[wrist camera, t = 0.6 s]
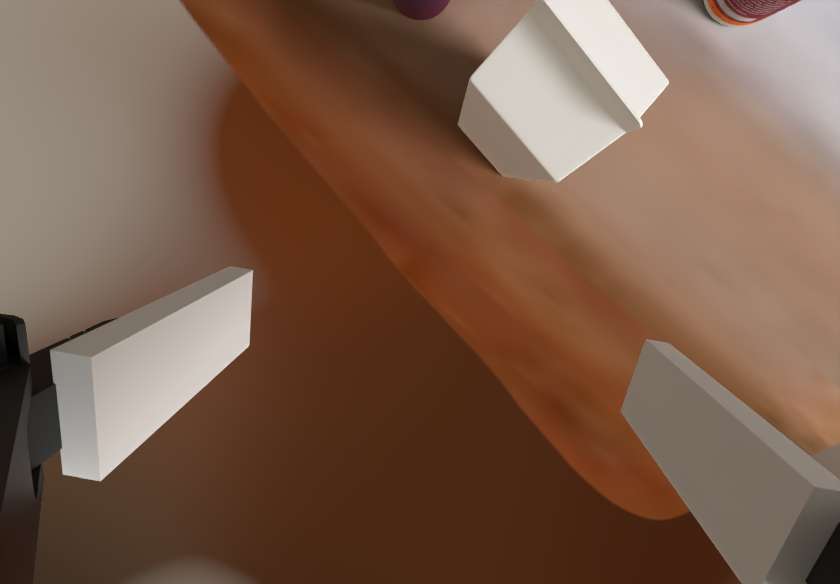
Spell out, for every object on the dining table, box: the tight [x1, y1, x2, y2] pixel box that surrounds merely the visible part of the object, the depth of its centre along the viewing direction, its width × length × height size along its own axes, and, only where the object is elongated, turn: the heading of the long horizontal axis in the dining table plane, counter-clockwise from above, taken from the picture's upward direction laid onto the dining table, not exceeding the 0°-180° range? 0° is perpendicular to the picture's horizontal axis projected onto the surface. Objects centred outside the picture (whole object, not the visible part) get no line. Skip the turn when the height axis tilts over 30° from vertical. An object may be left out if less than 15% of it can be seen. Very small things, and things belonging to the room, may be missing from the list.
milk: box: [458, 0, 669, 182], centre depth 25 cm, size 6×6×22 cm
